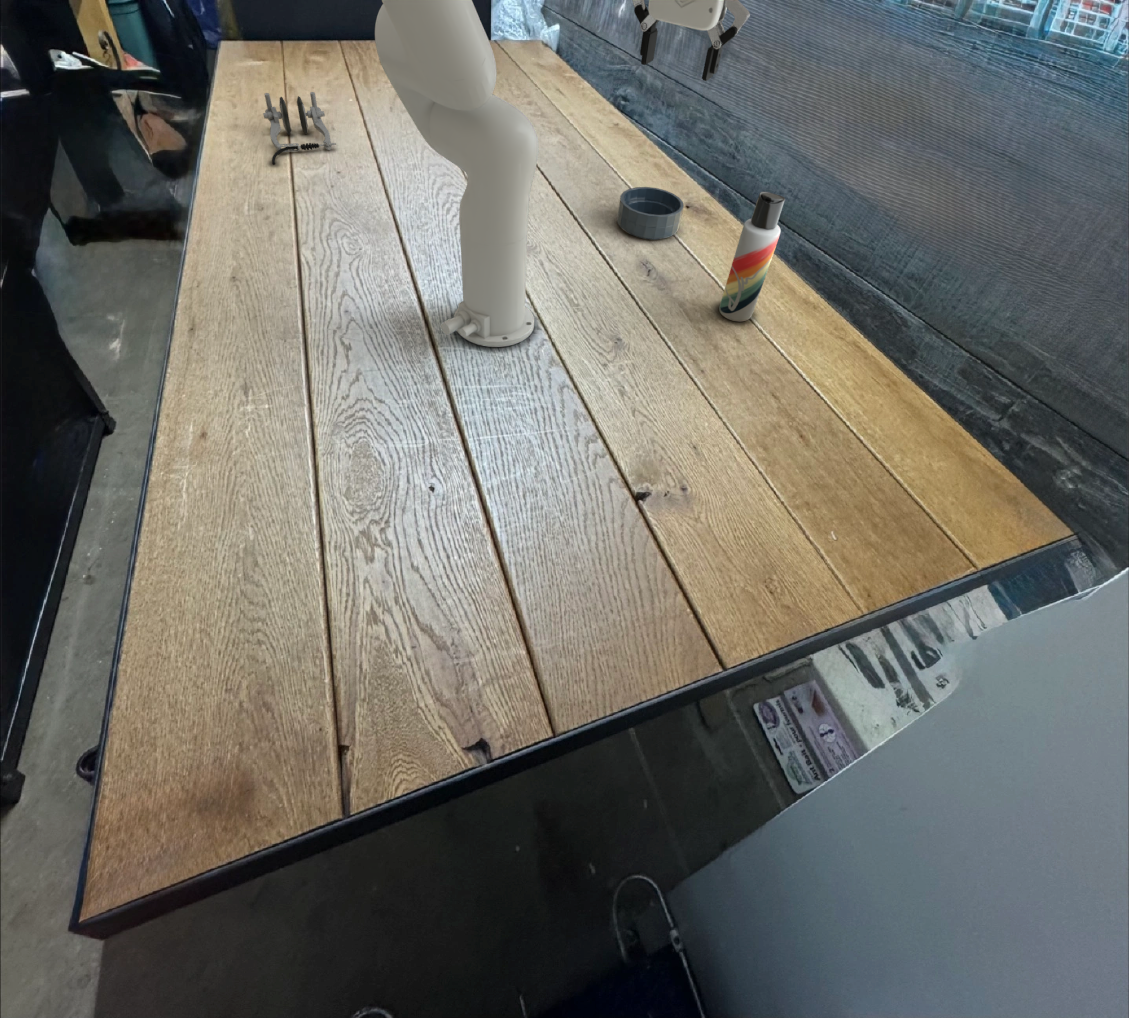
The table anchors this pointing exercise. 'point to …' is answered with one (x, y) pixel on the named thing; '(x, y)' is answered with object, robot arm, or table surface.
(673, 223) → the bowl
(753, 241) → the lotion bottle
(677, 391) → the table surface
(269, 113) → the bike brake
